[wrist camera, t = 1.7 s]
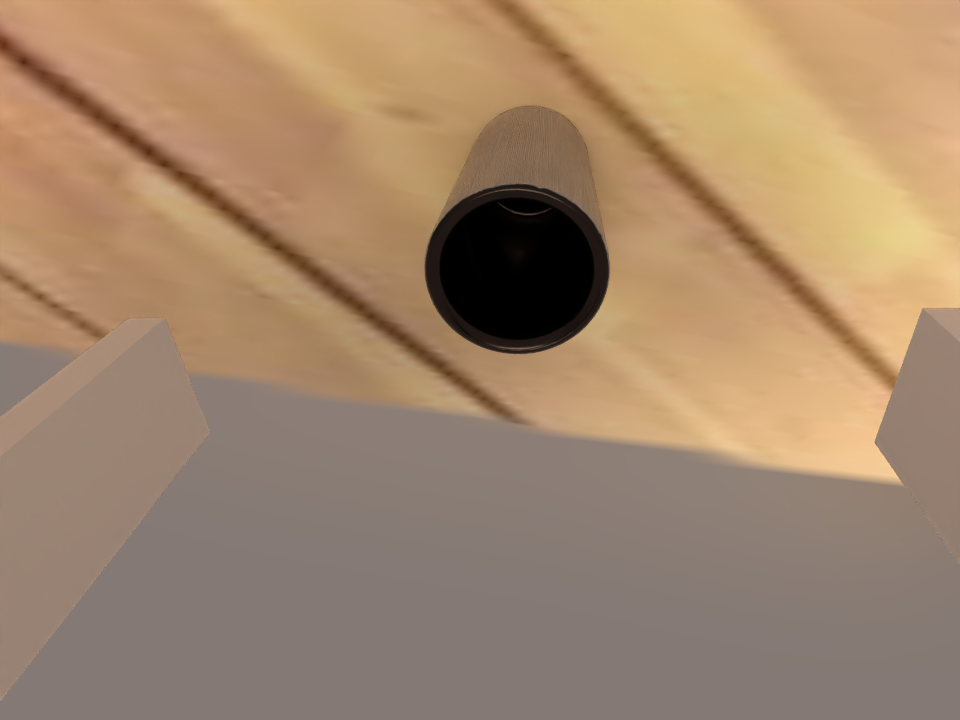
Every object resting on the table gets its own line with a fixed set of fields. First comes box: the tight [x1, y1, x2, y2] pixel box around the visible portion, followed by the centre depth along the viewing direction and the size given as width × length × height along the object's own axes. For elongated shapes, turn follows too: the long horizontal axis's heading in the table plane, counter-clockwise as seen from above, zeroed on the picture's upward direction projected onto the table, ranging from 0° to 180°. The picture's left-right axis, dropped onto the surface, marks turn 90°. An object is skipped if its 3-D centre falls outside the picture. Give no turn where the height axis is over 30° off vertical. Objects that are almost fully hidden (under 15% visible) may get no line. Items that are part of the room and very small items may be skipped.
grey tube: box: [425, 106, 610, 354], centre depth 19 cm, size 4×4×10 cm
